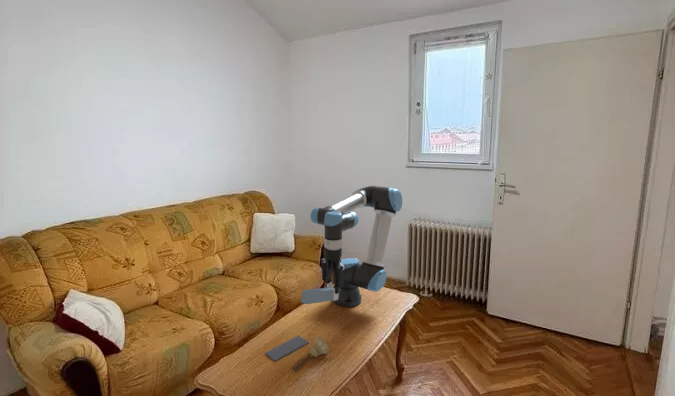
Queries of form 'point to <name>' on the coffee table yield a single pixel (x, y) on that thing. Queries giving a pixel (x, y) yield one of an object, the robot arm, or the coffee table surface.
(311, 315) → the coffee table surface
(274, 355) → the mat
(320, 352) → the hand bell
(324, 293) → the stick
